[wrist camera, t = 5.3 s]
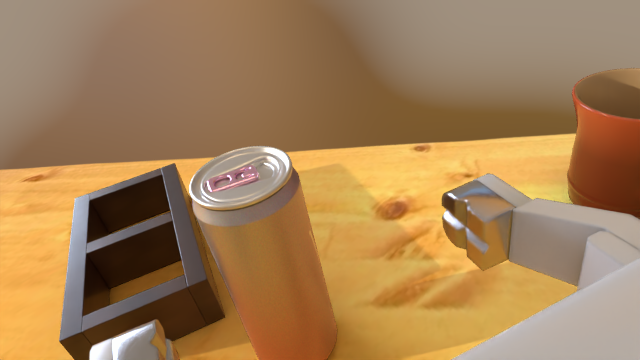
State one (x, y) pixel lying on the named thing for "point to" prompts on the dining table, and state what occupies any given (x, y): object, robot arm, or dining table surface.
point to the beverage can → (266, 251)
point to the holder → (135, 263)
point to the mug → (607, 142)
